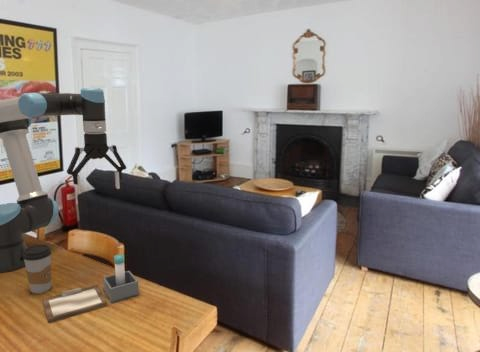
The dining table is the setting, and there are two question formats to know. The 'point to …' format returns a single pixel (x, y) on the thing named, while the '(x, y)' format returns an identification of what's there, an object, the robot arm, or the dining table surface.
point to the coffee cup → (38, 268)
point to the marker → (119, 269)
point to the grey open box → (120, 287)
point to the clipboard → (73, 303)
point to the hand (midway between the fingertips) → (99, 190)
